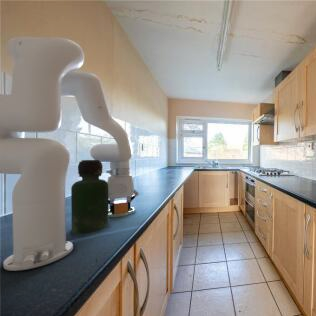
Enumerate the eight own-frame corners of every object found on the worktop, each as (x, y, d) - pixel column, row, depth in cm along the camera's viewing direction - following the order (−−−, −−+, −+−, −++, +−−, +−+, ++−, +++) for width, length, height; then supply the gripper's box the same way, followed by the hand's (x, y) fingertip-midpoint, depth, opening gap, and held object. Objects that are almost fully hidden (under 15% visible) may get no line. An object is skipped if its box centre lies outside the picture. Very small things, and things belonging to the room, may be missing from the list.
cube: (127, 212, 83) (127, 201, 83) (114, 215, 79) (114, 203, 79) (125, 210, 87) (125, 199, 86) (112, 212, 83) (112, 201, 83)
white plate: (136, 214, 83) (136, 211, 83) (107, 219, 75) (107, 216, 75) (131, 208, 91) (131, 205, 91) (104, 212, 84) (104, 209, 83)
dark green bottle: (70, 237, 59) (70, 161, 59) (72, 227, 68) (72, 159, 67) (109, 229, 66) (109, 160, 65) (107, 221, 74) (107, 159, 73)
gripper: (97, 174, 74) (97, 218, 75) (143, 171, 85) (143, 210, 86) (95, 172, 80) (95, 213, 80) (139, 170, 91) (139, 206, 91)
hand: (120, 211), depth 83 cm, fingers closed on cube, 5 cm apart
